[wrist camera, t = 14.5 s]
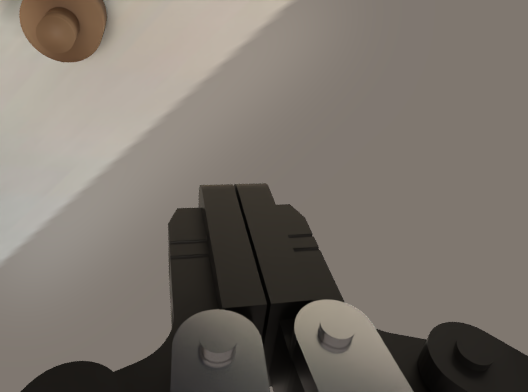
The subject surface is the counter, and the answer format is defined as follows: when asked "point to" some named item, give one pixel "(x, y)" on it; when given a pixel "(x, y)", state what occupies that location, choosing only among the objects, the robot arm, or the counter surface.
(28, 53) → the counter surface
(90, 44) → the stand
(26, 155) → the counter surface
